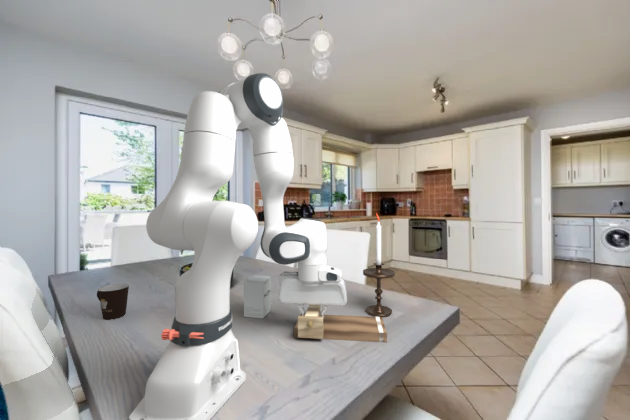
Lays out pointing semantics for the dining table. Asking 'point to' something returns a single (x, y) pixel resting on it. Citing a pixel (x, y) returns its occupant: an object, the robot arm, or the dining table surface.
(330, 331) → the board
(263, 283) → the supplement box
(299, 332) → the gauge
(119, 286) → the coffee mug
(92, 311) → the dining table surface
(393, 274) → the candlestick
